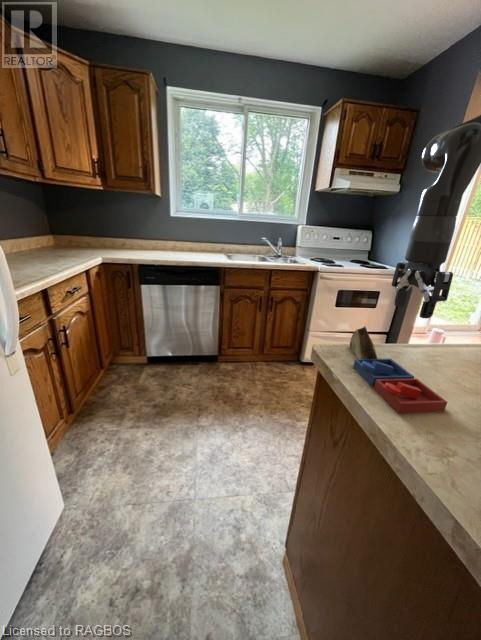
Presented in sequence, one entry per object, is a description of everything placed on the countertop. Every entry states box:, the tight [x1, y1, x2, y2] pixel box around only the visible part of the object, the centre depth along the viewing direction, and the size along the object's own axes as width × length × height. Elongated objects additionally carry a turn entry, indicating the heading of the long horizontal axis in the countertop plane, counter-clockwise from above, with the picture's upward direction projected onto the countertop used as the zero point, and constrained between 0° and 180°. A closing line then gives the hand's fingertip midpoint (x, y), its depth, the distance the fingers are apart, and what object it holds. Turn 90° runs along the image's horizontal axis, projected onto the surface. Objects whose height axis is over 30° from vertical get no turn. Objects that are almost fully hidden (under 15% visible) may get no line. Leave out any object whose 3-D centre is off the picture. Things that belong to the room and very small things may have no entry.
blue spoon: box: [361, 361, 394, 376], centre depth 67 cm, size 8×3×2 cm, turn 96°
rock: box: [349, 325, 378, 359], centre depth 76 cm, size 11×9×10 cm
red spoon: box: [384, 382, 422, 399], centre depth 58 cm, size 8×3×2 cm, turn 96°
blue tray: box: [353, 358, 415, 387], centre depth 68 cm, size 10×9×2 cm
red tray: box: [373, 377, 448, 414], centre depth 59 cm, size 10×9×2 cm
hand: (410, 311), depth 63 cm, fingers open, 8 cm apart
